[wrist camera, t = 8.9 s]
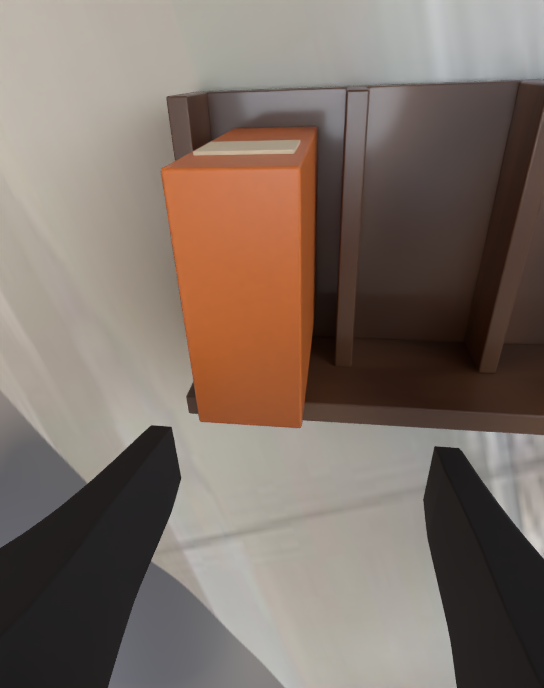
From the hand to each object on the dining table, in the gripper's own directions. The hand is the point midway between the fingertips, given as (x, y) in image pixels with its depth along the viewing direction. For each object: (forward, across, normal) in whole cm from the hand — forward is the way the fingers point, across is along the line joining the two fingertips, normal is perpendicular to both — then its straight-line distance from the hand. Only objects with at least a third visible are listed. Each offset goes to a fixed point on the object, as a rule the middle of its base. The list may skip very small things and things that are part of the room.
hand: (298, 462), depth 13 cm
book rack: (+10, -4, -3) cm, 12 cm away
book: (+9, +2, -4) cm, 10 cm away
